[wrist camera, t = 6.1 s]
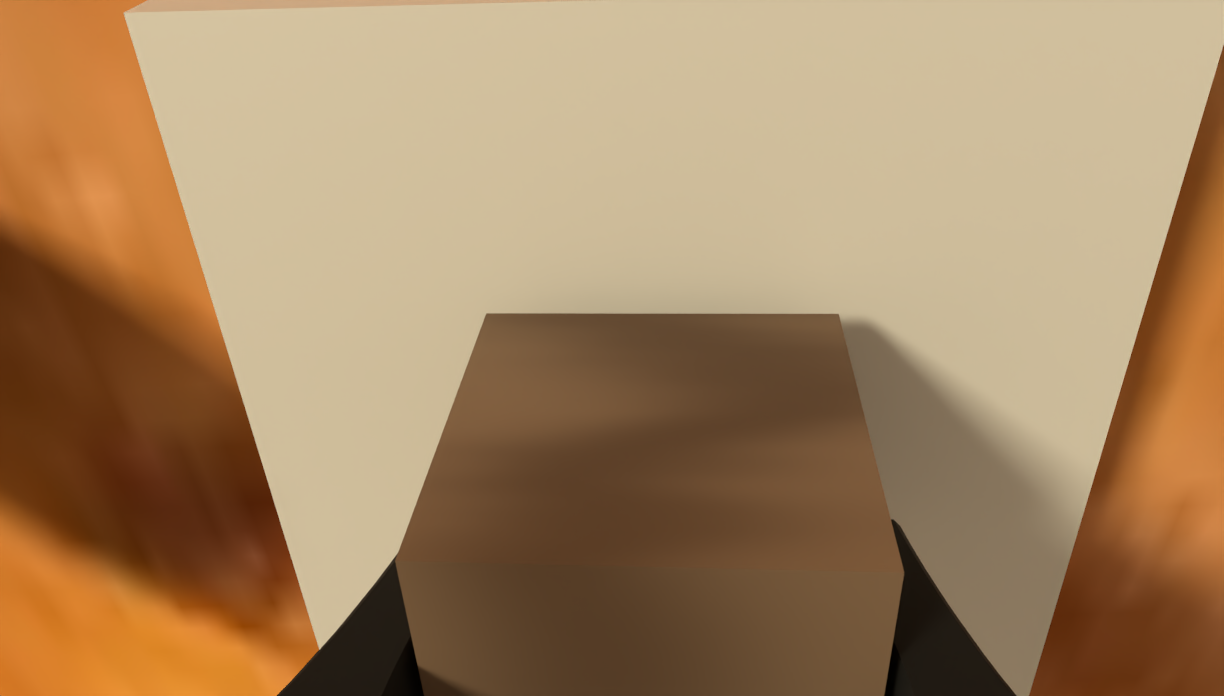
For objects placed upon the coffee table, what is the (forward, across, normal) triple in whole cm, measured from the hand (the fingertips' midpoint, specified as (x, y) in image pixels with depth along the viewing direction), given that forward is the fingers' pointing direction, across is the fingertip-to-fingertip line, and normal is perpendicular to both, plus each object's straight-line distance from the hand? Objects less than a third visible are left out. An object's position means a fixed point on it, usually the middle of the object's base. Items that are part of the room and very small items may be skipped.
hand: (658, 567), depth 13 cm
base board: (+5, 0, 0) cm, 5 cm away
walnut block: (+2, 0, 0) cm, 2 cm away
